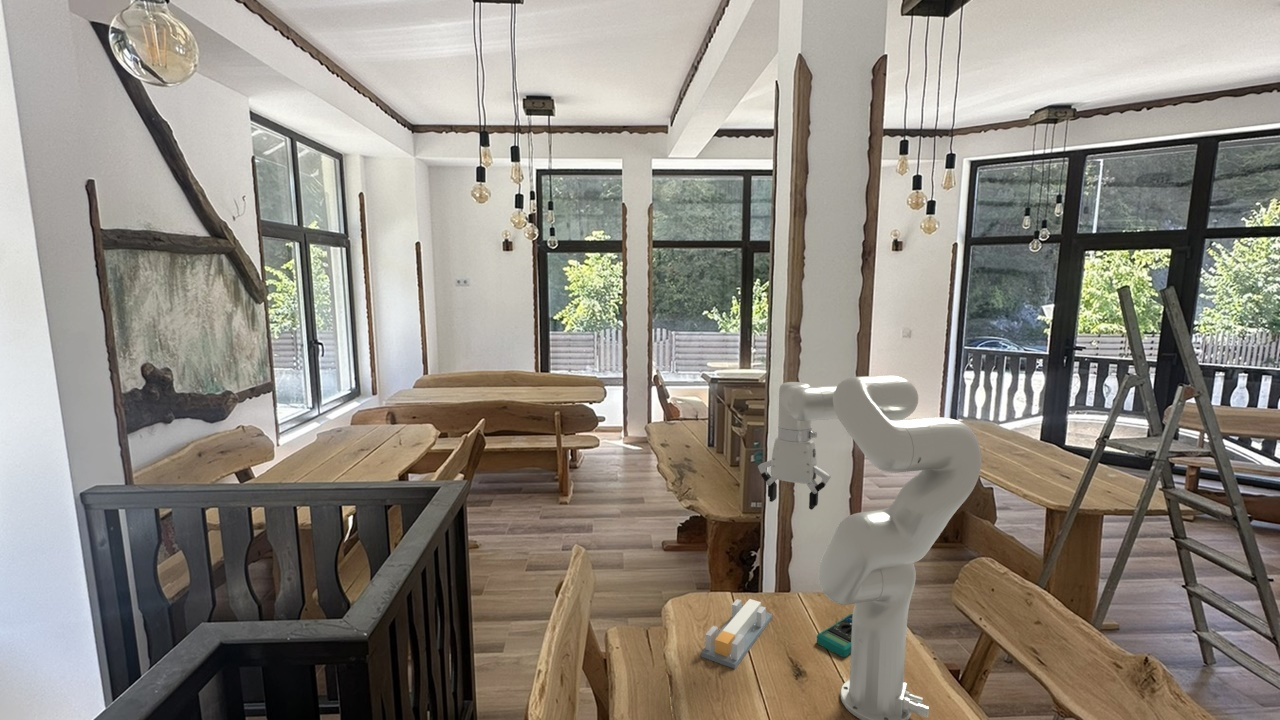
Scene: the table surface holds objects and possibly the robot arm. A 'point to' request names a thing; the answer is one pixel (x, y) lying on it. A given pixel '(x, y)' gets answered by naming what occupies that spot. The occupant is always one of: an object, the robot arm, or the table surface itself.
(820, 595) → the table surface
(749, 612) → the bar
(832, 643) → the digital multimeter
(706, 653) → the grey peg holder base
